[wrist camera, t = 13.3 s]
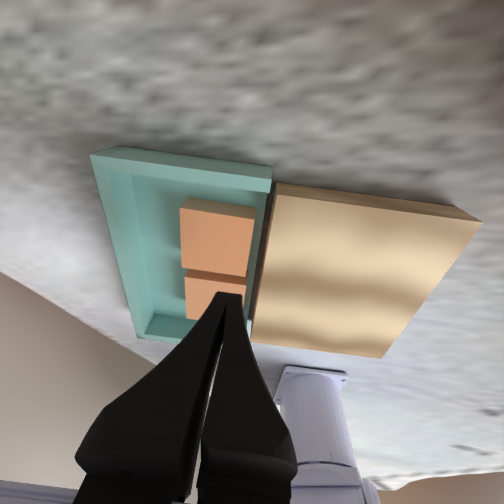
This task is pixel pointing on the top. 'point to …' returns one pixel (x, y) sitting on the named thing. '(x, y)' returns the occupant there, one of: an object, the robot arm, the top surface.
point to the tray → (168, 226)
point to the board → (351, 267)
